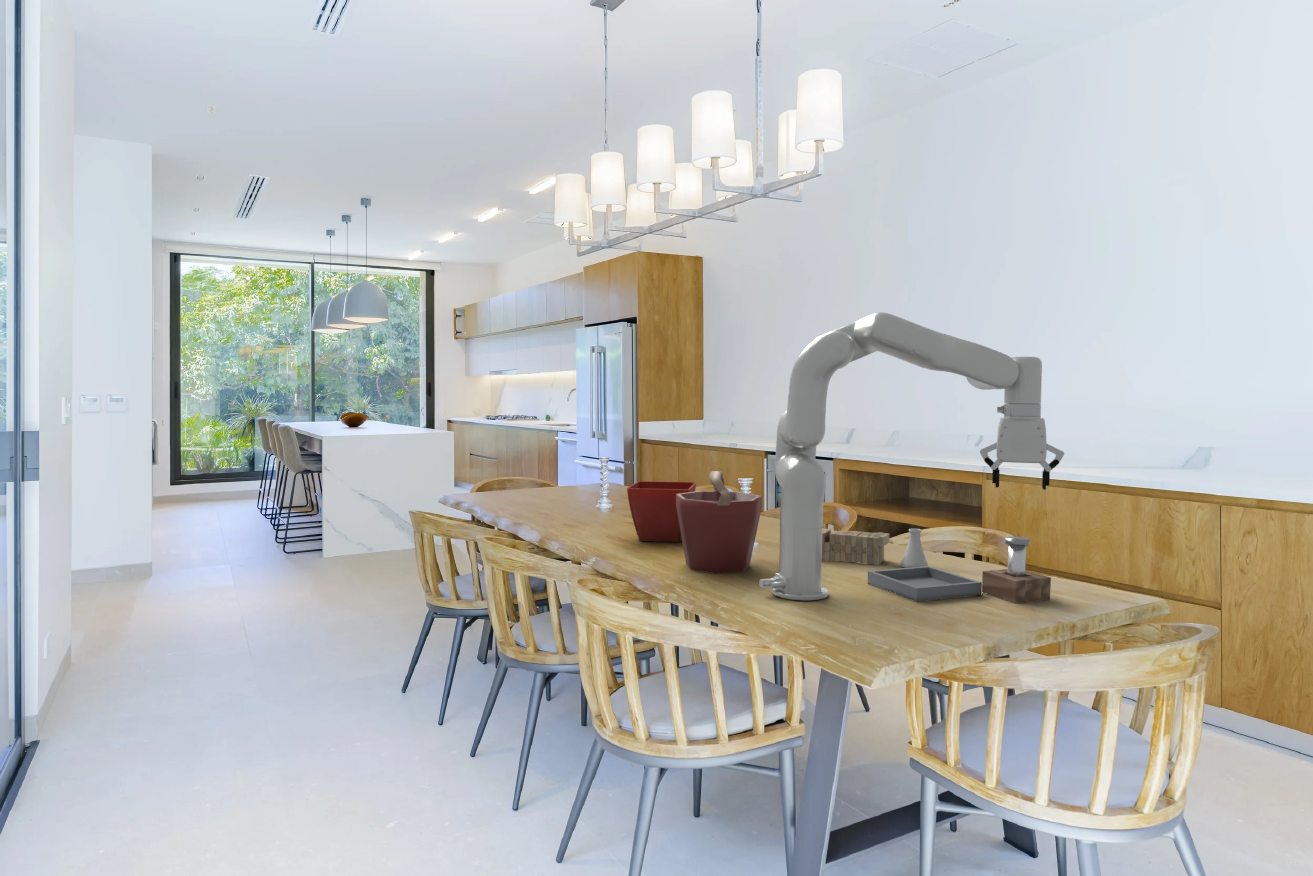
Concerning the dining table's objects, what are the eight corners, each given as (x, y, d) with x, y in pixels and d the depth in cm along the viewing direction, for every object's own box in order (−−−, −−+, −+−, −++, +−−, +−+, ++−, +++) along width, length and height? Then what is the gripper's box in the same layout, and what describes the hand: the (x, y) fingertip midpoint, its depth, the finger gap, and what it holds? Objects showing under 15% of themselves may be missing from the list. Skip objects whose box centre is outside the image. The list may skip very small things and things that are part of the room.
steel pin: (1015, 599, 180) (1017, 541, 179) (997, 594, 185) (999, 537, 184) (1033, 598, 182) (1035, 540, 181) (1015, 592, 186) (1017, 536, 186)
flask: (930, 570, 209) (931, 532, 208) (901, 569, 210) (902, 531, 210) (926, 564, 216) (927, 527, 215) (898, 563, 218) (899, 526, 217)
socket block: (1015, 603, 177) (1015, 580, 176) (981, 592, 186) (982, 571, 186) (1050, 599, 180) (1050, 577, 180) (1015, 589, 189) (1016, 568, 189)
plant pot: (625, 542, 243) (626, 487, 243) (637, 532, 262) (638, 480, 261) (688, 545, 240) (689, 489, 239) (695, 534, 259) (696, 482, 258)
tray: (916, 601, 177) (916, 588, 177) (867, 583, 194) (867, 571, 194) (981, 595, 183) (981, 582, 183) (928, 578, 200) (929, 566, 200)
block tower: (778, 559, 227) (884, 566, 214) (777, 529, 226) (883, 535, 213) (786, 554, 234) (889, 561, 221) (786, 525, 233) (889, 530, 220)
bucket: (746, 580, 197) (748, 478, 195) (660, 572, 204) (661, 474, 202) (765, 560, 220) (767, 469, 218) (688, 554, 227) (689, 466, 225)
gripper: (979, 412, 181) (978, 487, 182) (1066, 412, 174) (1064, 491, 175) (981, 411, 188) (979, 484, 189) (1064, 411, 180) (1062, 487, 181)
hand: (1020, 487), depth 182 cm, fingers open, 9 cm apart
